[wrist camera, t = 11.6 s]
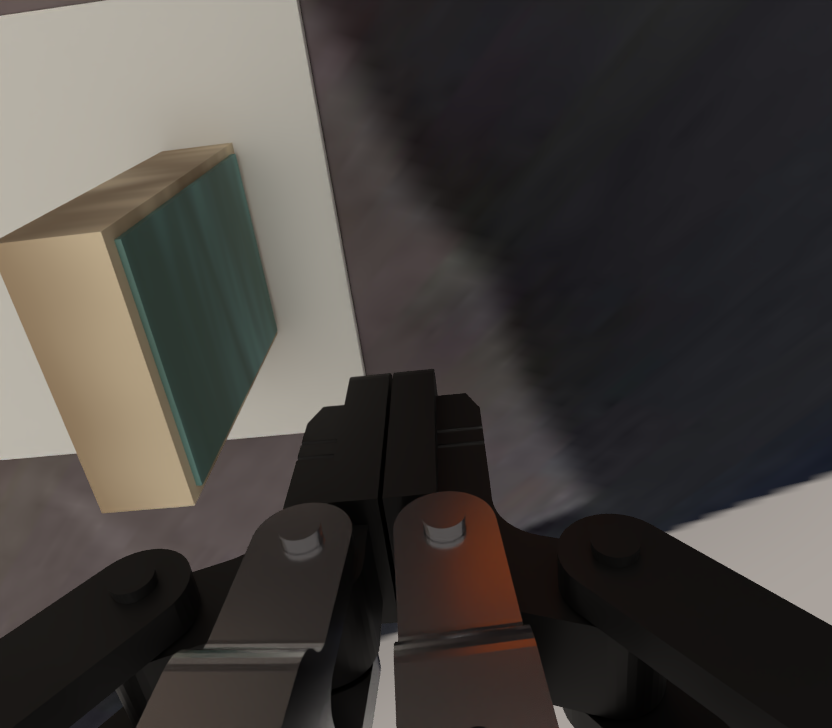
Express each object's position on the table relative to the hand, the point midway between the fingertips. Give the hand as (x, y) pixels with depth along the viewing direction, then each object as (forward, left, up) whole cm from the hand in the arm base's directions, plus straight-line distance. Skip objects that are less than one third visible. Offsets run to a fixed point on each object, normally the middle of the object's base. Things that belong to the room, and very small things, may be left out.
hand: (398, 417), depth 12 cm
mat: (+11, 0, -13) cm, 17 cm away
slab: (+7, 0, -13) cm, 14 cm away
